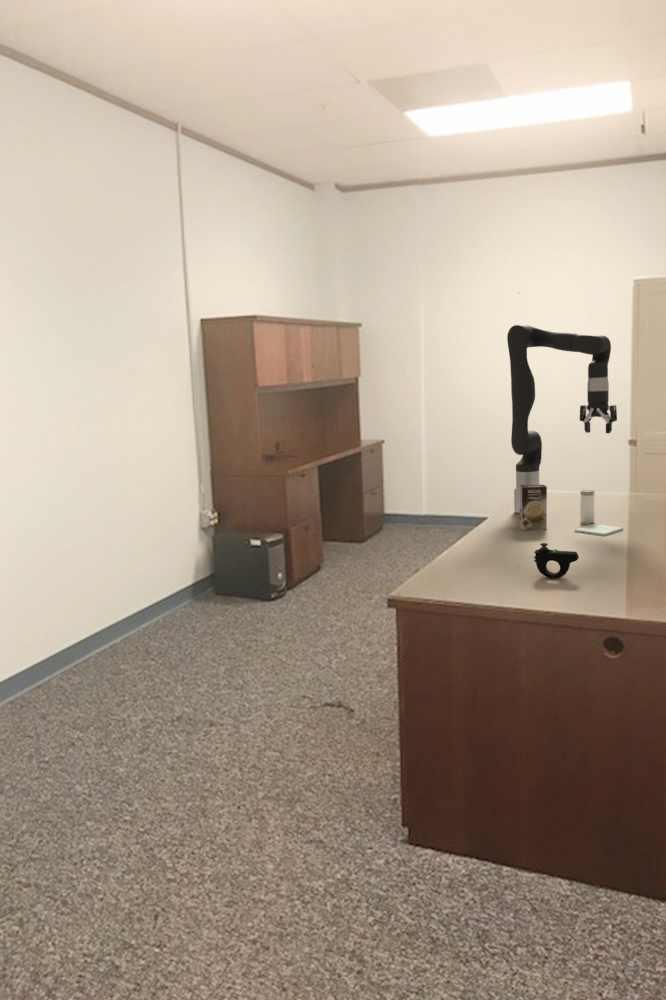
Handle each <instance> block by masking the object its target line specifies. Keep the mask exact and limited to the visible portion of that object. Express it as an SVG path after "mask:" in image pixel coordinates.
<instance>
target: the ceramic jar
mask: <svg viewBox="0 0 666 1000" xmlns="http://www.w3.org/2000/svg"><path fill="white" fill-rule="evenodd" d="M579 501H580V503H579V504H580V507H579V508H580V510H579V511H580V513H579V514H580V518H579V519H580V522H581V523H580V524H583V523H587V524H586V525H590V524H589V523H593V524H595V490H592V489H591V490H589V489H584V490H582V489H581V490H580V499H579Z"/></svg>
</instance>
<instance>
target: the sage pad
mask: <svg viewBox="0 0 666 1000" xmlns="http://www.w3.org/2000/svg"><path fill="white" fill-rule="evenodd" d="M623 530H624V527H620V526H614V525H613V526H612V525H603V524H598V523H593V524H587V525H585V526H581V527H579V528H575V529H574V532H575V531H577V532H576V533H581V532H584V533H583V534H588V533H591V534H590V535H595V534H597V536H602V535H603V537H606V536H608V535H609V536H610V535H613V534H615V533H619V532H622V531H623Z"/></svg>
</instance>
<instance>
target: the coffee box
mask: <svg viewBox="0 0 666 1000" xmlns="http://www.w3.org/2000/svg"><path fill="white" fill-rule="evenodd" d="M547 489H548V486H547V485H545V484H539V485H520V513H519V528H520V529H521V531H543V530H542V529H546V530H547V528H548V527H547V520H548V519H547V517H548V516H547V515H548V514H547V510H548V507H547V505H548V504H547V503H548V502H547V497H548V495H547V494H548V493H547V491H548V490H547ZM540 529H541V530H540Z"/></svg>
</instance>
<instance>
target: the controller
mask: <svg viewBox="0 0 666 1000" xmlns="http://www.w3.org/2000/svg"><path fill="white" fill-rule="evenodd" d="M539 546H541V547H540V548H539V549H535V551H534V552H533V553H534V554H535V555H534V556H533V558H534V560H533V561H534V562H535V564H536V568H537V570H538V571H539V573H540V574H542V576H543V577H545V578H548V579H553V580H554V579H555V580H556V579H560V578H562V577H564V576H565V575H566V574H567V573H568V571H569V569H570V565H571V563H574V562H577V561H578V559H579V557H580V556H579V554H578V552H577V551H571V550H570V551H569V550H557V549H550V548H548V547H547V546H548V543H547V542H542V543H540V545H539ZM551 561H554V562H555V563H557V564H558V566H559V570H558V571H557V572H552V571H549V568H548V567H547V564H548V563H549V562H551Z"/></svg>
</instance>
